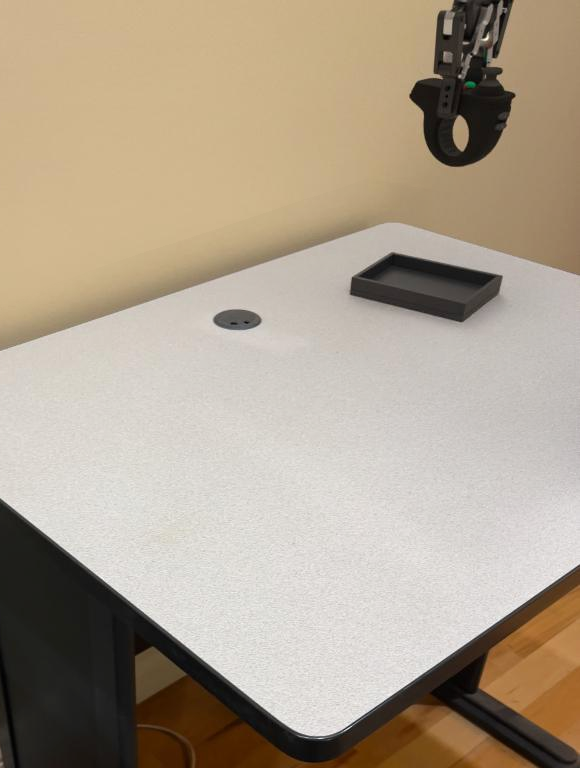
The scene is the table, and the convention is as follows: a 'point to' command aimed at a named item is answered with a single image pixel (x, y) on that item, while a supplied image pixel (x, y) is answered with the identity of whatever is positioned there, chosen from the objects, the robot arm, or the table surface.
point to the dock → (426, 286)
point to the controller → (479, 109)
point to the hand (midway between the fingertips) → (458, 111)
